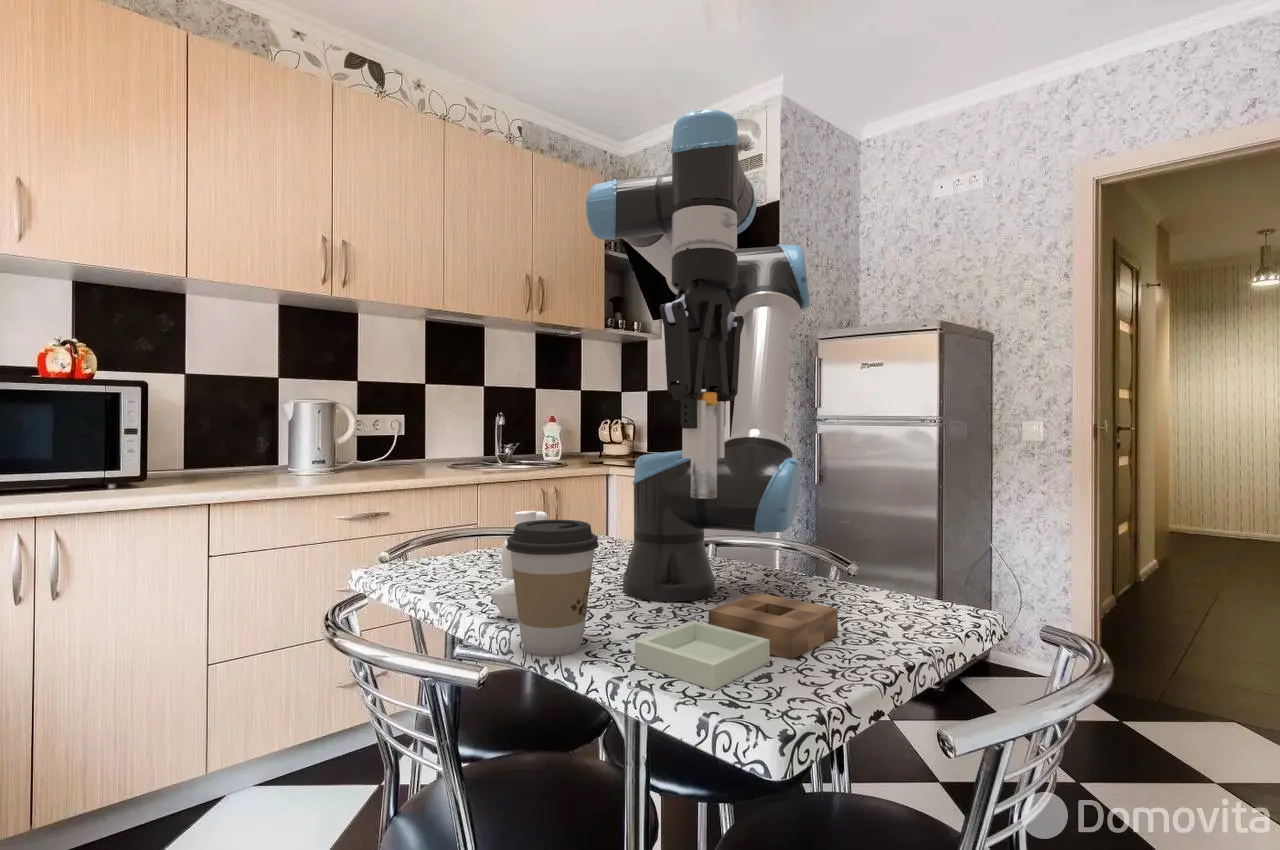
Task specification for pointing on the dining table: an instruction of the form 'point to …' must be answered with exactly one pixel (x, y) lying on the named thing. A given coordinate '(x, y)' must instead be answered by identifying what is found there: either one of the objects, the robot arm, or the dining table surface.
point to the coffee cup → (552, 583)
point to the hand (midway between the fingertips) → (703, 457)
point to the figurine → (507, 595)
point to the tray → (702, 653)
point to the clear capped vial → (707, 454)
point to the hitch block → (779, 622)
